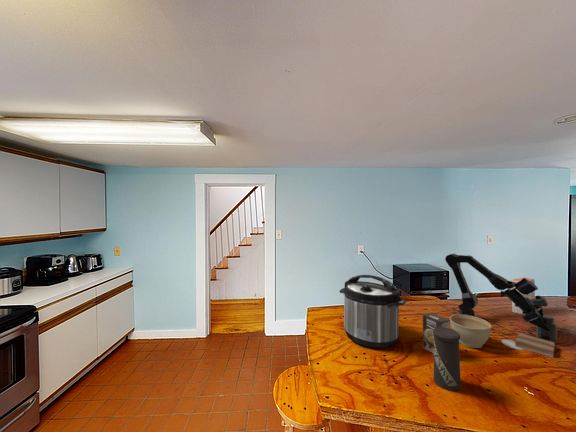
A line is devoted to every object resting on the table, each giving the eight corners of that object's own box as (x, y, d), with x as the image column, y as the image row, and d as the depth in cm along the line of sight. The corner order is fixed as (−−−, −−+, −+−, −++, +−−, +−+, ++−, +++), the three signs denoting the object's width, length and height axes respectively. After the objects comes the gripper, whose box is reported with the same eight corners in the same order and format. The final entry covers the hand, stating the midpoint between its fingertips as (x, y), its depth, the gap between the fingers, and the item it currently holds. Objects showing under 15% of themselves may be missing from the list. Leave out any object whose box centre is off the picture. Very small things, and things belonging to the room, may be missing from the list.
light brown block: (553, 357, 104) (553, 351, 104) (515, 346, 114) (515, 341, 114) (554, 347, 112) (554, 342, 112) (519, 337, 121) (519, 332, 121)
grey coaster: (510, 350, 112) (510, 348, 112) (497, 340, 120) (497, 338, 120) (532, 351, 110) (532, 350, 110) (517, 341, 119) (517, 340, 119)
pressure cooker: (416, 344, 116) (415, 279, 116) (368, 357, 107) (367, 286, 106) (374, 319, 145) (373, 267, 144) (333, 327, 135) (332, 271, 135)
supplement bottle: (561, 345, 114) (561, 320, 114) (544, 344, 115) (544, 319, 115) (548, 338, 121) (548, 314, 121) (532, 336, 122) (532, 313, 122)
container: (427, 376, 94) (427, 325, 93) (449, 374, 94) (448, 324, 94) (444, 392, 85) (443, 336, 85) (467, 390, 86) (467, 335, 86)
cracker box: (523, 308, 158) (523, 276, 158) (535, 312, 152) (535, 279, 152) (510, 311, 153) (510, 279, 153) (522, 315, 147) (522, 281, 147)
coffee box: (422, 348, 113) (421, 314, 113) (431, 345, 116) (431, 311, 116) (441, 358, 105) (440, 322, 105) (450, 355, 107) (450, 319, 107)
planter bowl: (453, 331, 128) (453, 311, 128) (493, 343, 117) (493, 320, 117) (446, 343, 117) (446, 321, 117) (489, 357, 105) (489, 332, 105)
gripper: (531, 295, 115) (567, 326, 107) (535, 287, 127) (568, 314, 119) (510, 307, 121) (542, 337, 113) (515, 298, 133) (545, 324, 125)
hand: (550, 327), depth 117 cm, fingers open, 9 cm apart
